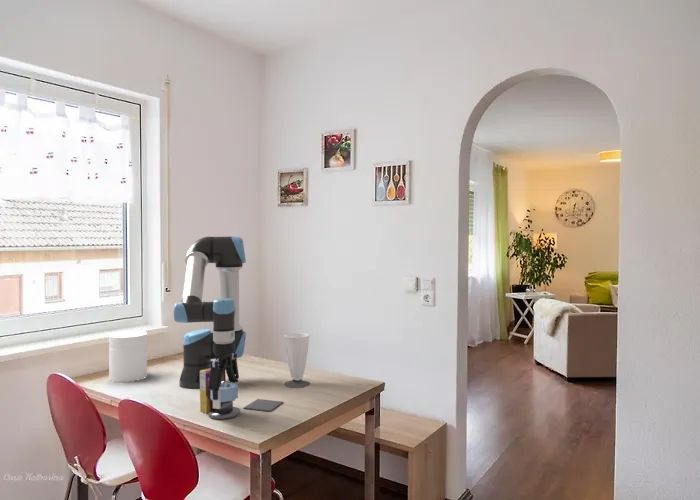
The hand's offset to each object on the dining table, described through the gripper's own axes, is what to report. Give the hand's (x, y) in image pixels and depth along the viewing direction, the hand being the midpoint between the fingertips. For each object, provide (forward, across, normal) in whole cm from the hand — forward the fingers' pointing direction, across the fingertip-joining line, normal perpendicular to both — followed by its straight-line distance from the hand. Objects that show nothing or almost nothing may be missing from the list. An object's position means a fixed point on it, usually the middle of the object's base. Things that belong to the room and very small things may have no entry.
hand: (224, 404), depth 181 cm
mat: (+4, +13, -9) cm, 16 cm away
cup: (+4, +44, -9) cm, 45 cm away
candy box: (+4, +4, +7) cm, 9 cm away
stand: (+4, 0, 0) cm, 4 cm away
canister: (+4, +30, +70) cm, 76 cm away
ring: (-2, 0, 0) cm, 2 cm away
